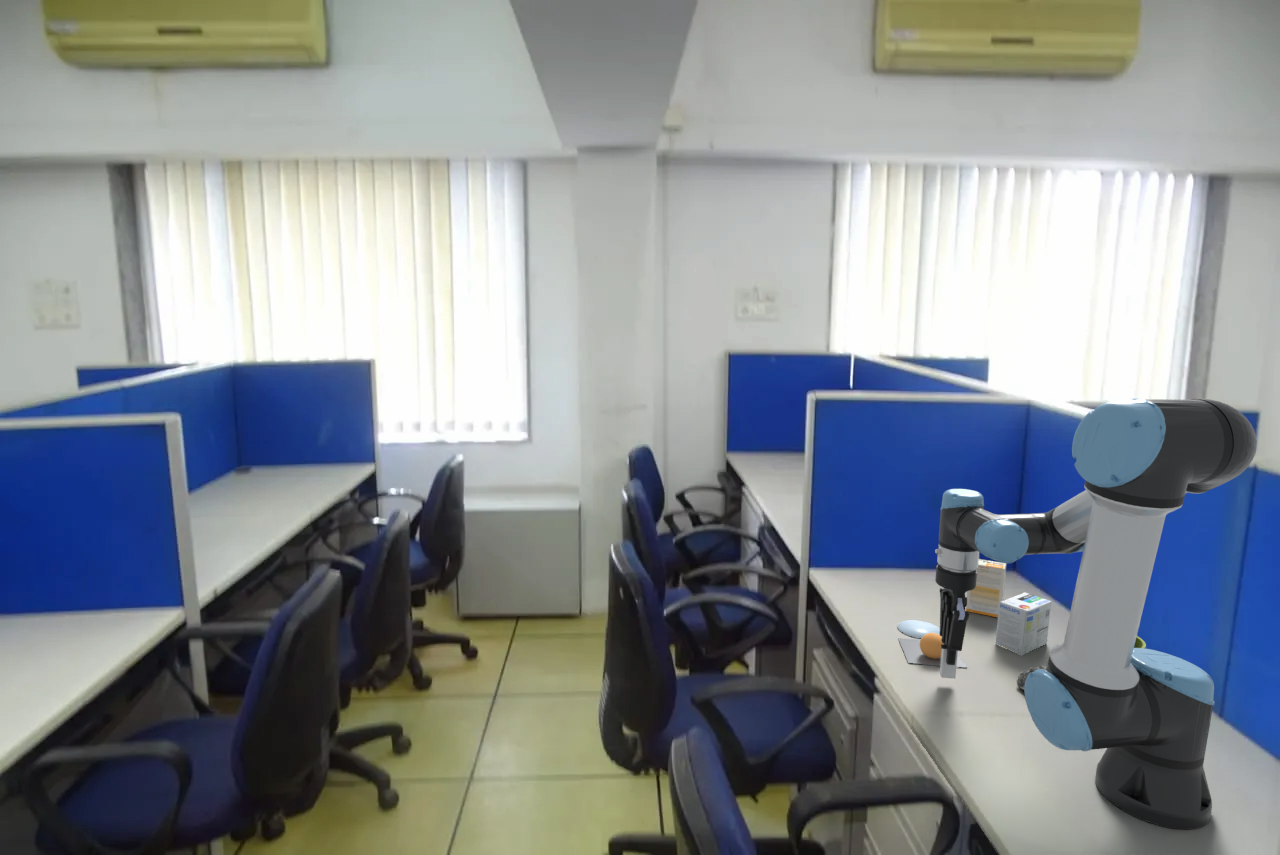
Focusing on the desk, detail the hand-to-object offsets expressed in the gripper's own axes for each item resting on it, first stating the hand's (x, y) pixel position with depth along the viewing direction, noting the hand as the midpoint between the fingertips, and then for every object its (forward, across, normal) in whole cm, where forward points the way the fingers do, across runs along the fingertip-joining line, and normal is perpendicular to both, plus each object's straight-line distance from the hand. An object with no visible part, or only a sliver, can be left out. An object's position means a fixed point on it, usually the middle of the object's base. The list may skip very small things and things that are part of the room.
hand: (947, 676), depth 150 cm
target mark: (+2, -14, 0) cm, 14 cm away
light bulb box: (+2, -22, +22) cm, 31 cm away
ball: (-1, -12, 0) cm, 12 cm away
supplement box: (+2, -40, +18) cm, 44 cm away
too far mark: (+2, -26, 0) cm, 26 cm away
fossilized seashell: (+2, +1, +19) cm, 19 cm away
